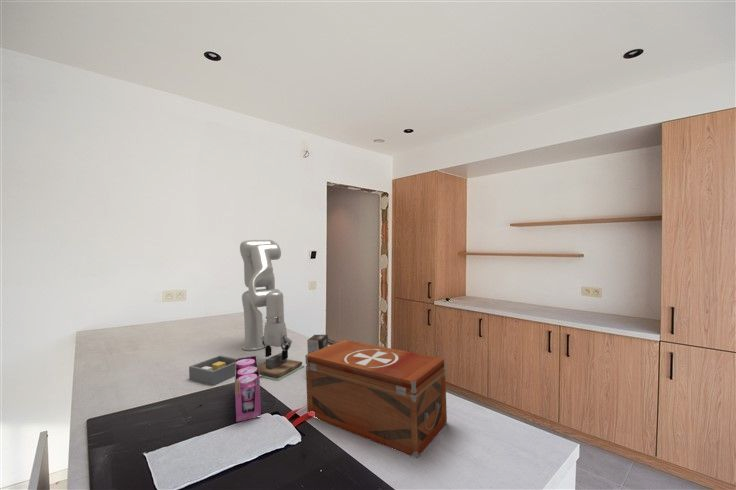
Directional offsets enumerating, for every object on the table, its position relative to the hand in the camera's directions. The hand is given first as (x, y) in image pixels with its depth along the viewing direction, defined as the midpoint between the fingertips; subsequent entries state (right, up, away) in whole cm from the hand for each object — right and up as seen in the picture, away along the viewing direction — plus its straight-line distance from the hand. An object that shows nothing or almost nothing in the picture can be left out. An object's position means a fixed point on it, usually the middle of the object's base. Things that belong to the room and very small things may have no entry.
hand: (276, 357), depth 150 cm
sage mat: (0, -6, 0) cm, 6 cm away
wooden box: (+43, -5, -43) cm, 61 cm away
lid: (0, -5, 0) cm, 5 cm away
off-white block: (-28, -6, -8) cm, 30 cm away
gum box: (-2, -6, -31) cm, 32 cm away
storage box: (-24, -7, -7) cm, 25 cm away
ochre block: (-25, -6, -3) cm, 25 cm away
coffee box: (+20, -5, -6) cm, 21 cm away
